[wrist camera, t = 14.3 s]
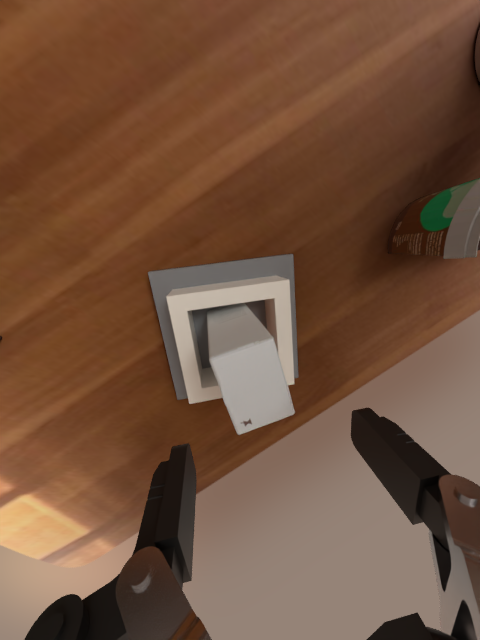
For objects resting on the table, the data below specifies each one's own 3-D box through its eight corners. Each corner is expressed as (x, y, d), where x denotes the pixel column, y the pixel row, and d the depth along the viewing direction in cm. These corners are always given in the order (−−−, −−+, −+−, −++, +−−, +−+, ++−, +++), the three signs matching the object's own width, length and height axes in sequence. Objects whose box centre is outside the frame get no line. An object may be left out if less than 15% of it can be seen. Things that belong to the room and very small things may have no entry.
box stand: (288, 253, 25) (309, 254, 20) (293, 371, 30) (312, 396, 25) (151, 271, 24) (136, 276, 19) (178, 392, 28) (173, 424, 23)
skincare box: (257, 346, 26) (297, 416, 15) (222, 358, 26) (236, 439, 15) (242, 297, 24) (275, 336, 13) (205, 310, 24) (205, 360, 13)
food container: (470, 170, 26) (625, 122, 16) (468, 226, 28) (606, 212, 18) (371, 202, 25) (472, 171, 16) (376, 257, 27) (469, 259, 18)
